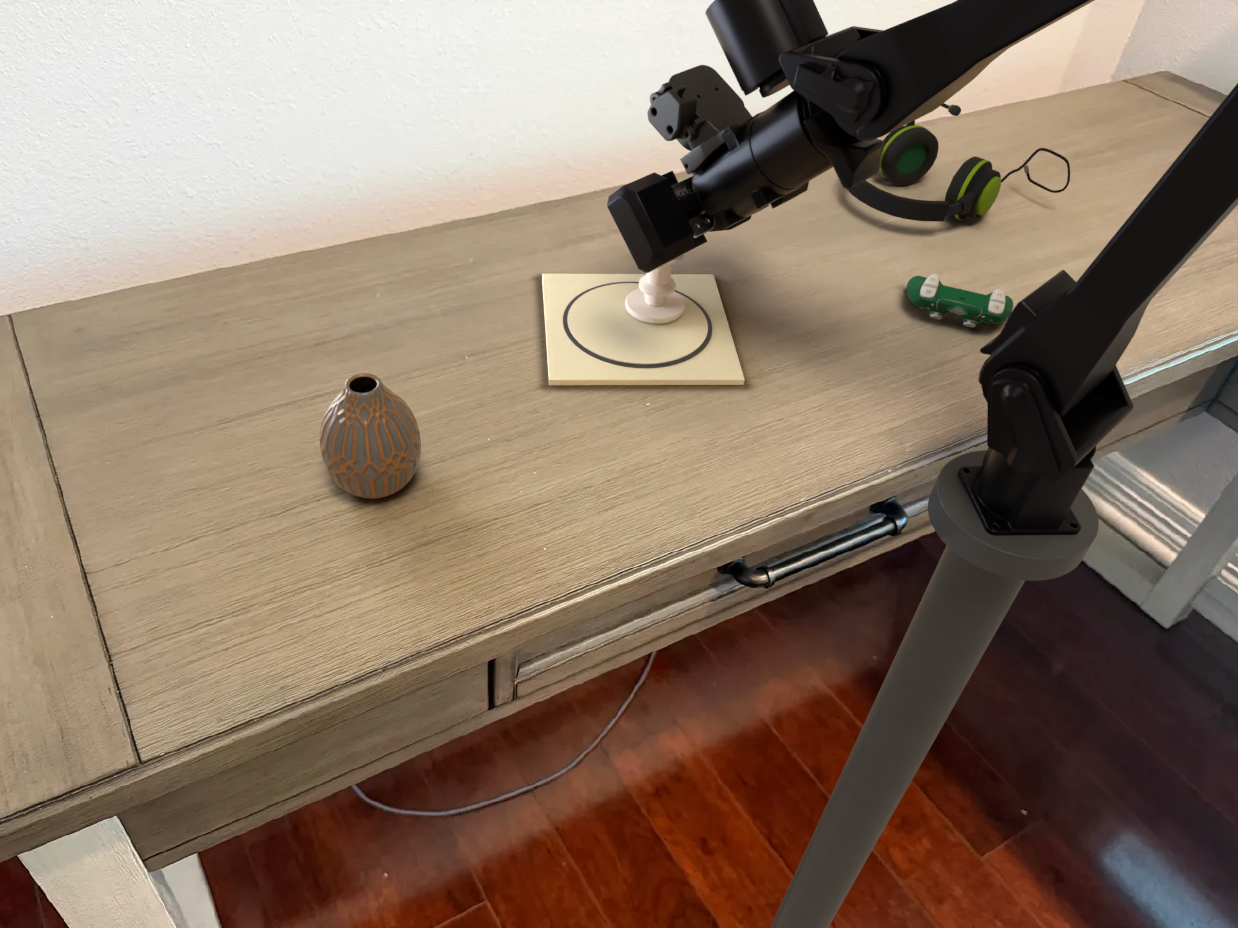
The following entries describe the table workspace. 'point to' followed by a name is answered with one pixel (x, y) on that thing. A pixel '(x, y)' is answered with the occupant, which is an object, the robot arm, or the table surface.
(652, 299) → the candle
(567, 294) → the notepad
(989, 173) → the headphones
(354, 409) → the vase
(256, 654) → the table surface
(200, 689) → the table surface
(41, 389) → the table surface
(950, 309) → the gaming controller
